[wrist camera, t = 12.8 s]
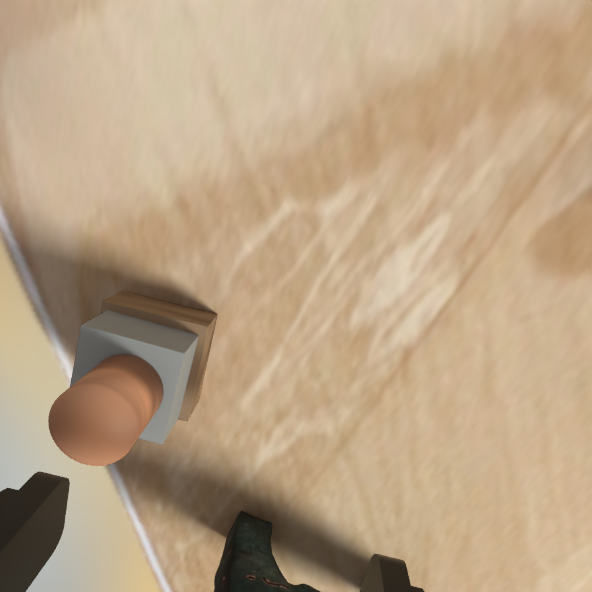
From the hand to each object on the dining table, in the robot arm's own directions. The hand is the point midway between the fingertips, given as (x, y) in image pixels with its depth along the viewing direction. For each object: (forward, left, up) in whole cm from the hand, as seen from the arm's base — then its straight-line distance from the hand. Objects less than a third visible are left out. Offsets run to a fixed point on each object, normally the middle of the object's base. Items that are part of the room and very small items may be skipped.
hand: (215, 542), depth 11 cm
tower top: (+6, -9, -22) cm, 25 cm away
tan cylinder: (+6, -9, -18) cm, 21 cm away
